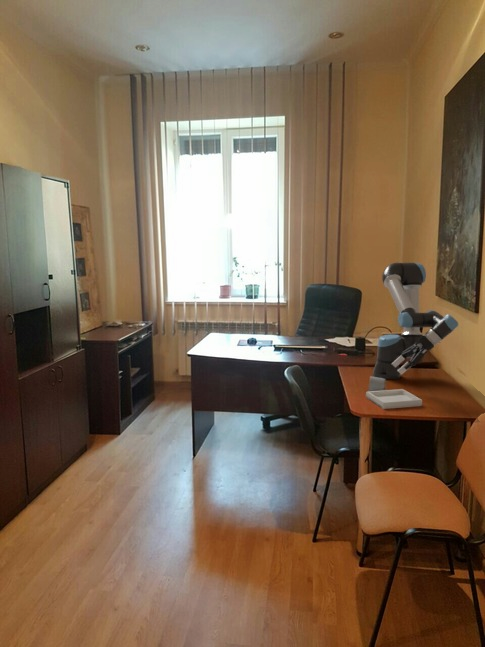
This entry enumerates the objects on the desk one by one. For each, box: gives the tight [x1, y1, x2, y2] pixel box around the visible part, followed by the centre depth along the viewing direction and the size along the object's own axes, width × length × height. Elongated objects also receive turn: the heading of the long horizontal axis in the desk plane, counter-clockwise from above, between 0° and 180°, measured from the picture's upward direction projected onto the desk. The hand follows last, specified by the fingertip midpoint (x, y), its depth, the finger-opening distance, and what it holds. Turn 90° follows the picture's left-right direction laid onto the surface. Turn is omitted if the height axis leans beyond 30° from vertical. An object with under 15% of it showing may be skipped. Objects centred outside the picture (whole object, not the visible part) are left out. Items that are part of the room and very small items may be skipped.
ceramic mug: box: [368, 375, 387, 391], centre depth 236 cm, size 11×8×8 cm
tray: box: [365, 388, 423, 410], centre depth 221 cm, size 16×20×3 cm
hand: (396, 369), depth 232 cm, fingers open, 13 cm apart
